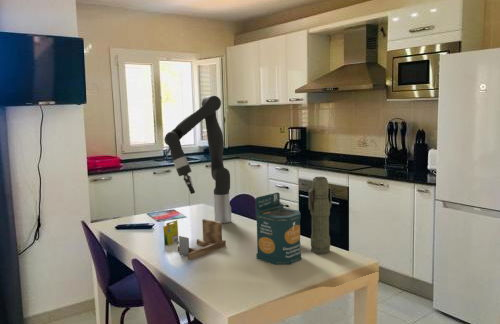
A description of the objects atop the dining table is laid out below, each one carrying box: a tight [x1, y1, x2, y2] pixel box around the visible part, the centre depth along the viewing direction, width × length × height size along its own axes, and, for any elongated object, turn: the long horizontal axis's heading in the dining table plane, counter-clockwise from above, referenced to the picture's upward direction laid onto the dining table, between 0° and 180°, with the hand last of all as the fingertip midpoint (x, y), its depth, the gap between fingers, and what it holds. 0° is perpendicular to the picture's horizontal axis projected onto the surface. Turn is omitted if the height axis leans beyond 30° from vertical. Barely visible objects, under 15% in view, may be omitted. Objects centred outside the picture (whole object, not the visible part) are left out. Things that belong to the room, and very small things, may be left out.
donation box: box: [254, 192, 302, 266], centre depth 191 cm, size 16×16×28 cm
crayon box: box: [162, 219, 179, 247], centre depth 217 cm, size 7×3×12 cm, turn 141°
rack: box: [176, 218, 227, 261], centre depth 206 cm, size 14×24×12 cm, turn 142°
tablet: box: [146, 209, 187, 223], centre depth 277 cm, size 19×25×1 cm
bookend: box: [178, 235, 190, 258], centre depth 199 cm, size 6×4×9 cm, turn 52°
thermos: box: [307, 176, 333, 255], centre depth 198 cm, size 9×12×35 cm
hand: (193, 193), depth 237 cm, fingers open, 8 cm apart
